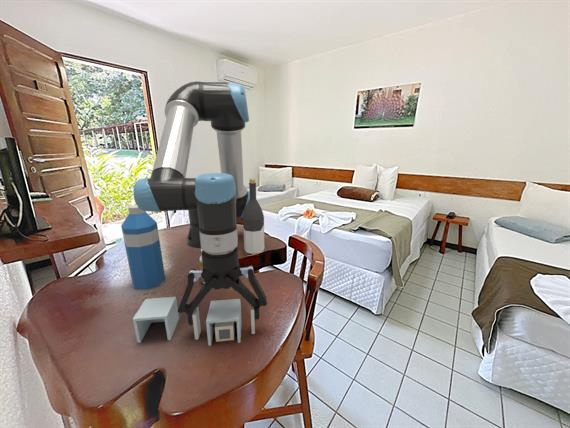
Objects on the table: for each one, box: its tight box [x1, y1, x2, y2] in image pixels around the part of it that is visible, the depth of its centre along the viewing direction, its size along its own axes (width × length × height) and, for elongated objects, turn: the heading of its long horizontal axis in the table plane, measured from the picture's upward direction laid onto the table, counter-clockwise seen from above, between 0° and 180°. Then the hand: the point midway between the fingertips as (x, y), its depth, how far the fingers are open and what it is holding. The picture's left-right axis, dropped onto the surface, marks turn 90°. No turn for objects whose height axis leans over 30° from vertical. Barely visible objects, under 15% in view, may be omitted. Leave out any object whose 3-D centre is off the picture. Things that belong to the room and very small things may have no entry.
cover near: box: [132, 296, 180, 344], centre depth 57 cm, size 7×7×6 cm
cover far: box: [205, 298, 242, 347], centre depth 57 cm, size 7×7×6 cm
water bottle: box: [120, 204, 166, 291], centre depth 74 cm, size 9×9×25 cm
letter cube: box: [214, 321, 236, 342], centre depth 56 cm, size 4×4×4 cm
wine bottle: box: [242, 178, 266, 255], centre depth 94 cm, size 8×8×30 cm
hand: (226, 332), depth 57 cm, fingers open, 12 cm apart
